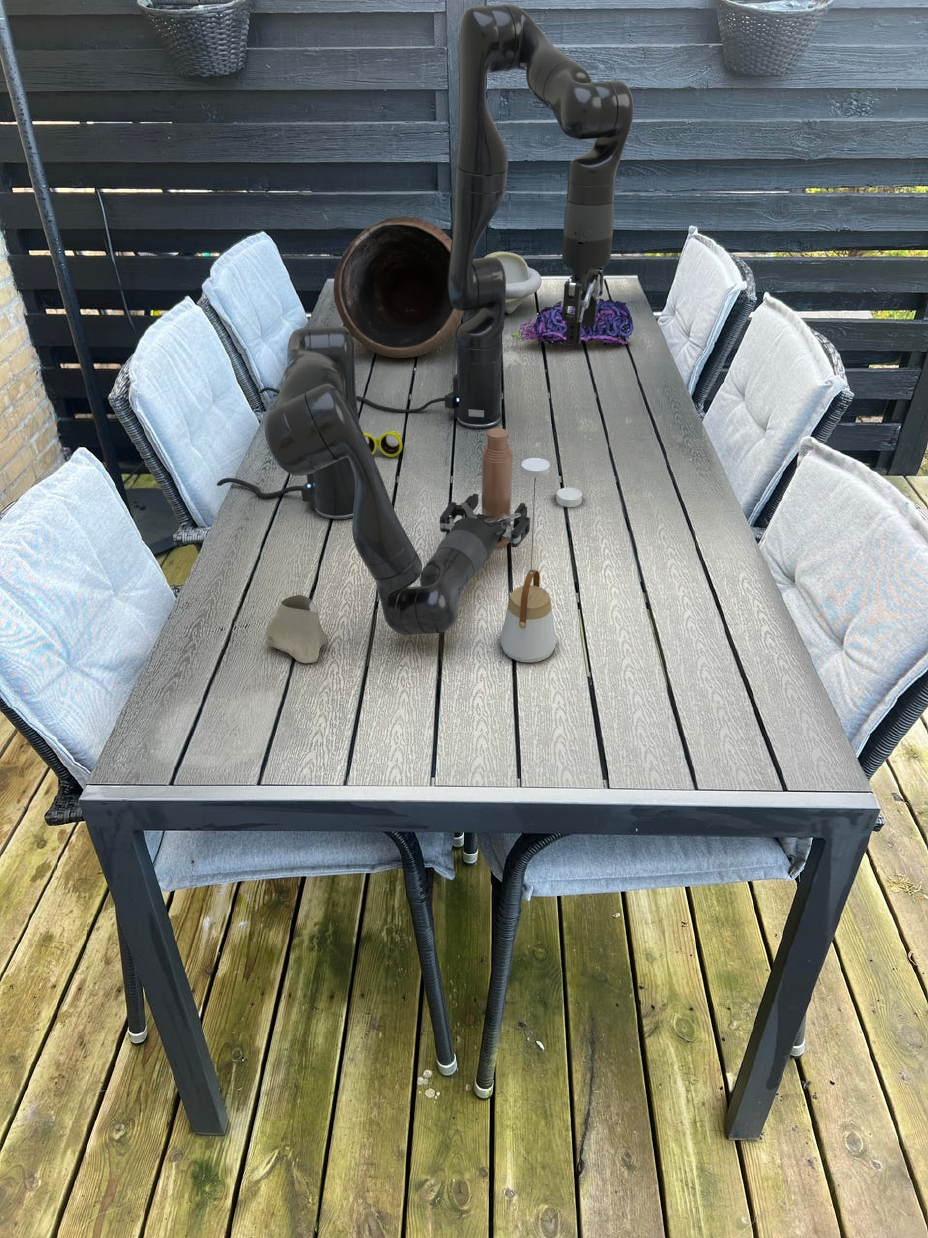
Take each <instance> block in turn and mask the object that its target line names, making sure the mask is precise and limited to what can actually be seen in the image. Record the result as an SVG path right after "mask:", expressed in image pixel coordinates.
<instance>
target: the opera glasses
mask: <svg viewBox="0 0 928 1238" xmlns="http://www.w3.org/2000/svg"><path fill="white" fill-rule="evenodd" d="M362 432H363V431H362ZM363 434H364V436H365V437H367V439H368V442H367V443H368V446H369V448H370V451H371V453H372V455H375V453H376V452H377V450H378V449H379V451H380V452H381V453H382V455H384V456H386V457H389V458H394V457H397V456H399V455H400V453H401V452H402V451H403V450H402V449H403V442H402V436H401V434H400V433H399V432H397V431H395V430H389V431H387V432H384V433H382V434H381V435H380V436H379V438H375V436H373V435H372V434H370V433H366V432H363ZM388 436H392V437H394V438H395V439H396V440H397V442H398V443H397V444H395V445H391V444H389V443H388V439H387V437H388ZM377 448H378V449H377Z"/></svg>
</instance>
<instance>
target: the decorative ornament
mask: <svg viewBox="0 0 928 1238" xmlns="http://www.w3.org/2000/svg"><path fill="white" fill-rule="evenodd" d="M562 304H563V301H562V300H560V301H558V302H556V303H555V304H554V305H553V306H545V307H544V308H542V309H541V310H540V311H539V312H538V317H536V319H535V321H534V322H532V317H529V318H528V321H526V322H524V323H523V324H520V326H519V329H517V330H516V331H514V332H512V333H511V334H510V335H511V337H512V339H513V340H516V341H518V340H519V341H521V342H523V341H526V342H525V344H526V343H528V341H530V343H531V342H533V341H536V342H538V344H537V346H538V347H540V345H542V343H547V344H548V345H550V346H560V344H562V345H564V346H565V345H568V344H567V343H566V332H567V321H562V312H563V306H562ZM596 304H597V303H596ZM561 306H562V307H561ZM571 314H575V308H573V309H572V312H571ZM633 331H634V323H633V317H632V316H631V313H630V310H629V308H628V307H627V302H623V301H618V300H611V299H607V300H604V299H603V298H599V302H598V304H597V311H596V323H595V325H594V327H586V326H583V325H582V326H581V340H580V342H587V343H589V342H593V341H595V342H596V341H602V342H603V345H604V346H611V345H621V346H625V345H629V341H628V340H630V336H632V334H633ZM527 340H528V341H527ZM575 346H576V347H578V345H575Z"/></svg>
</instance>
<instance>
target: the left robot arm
mask: <svg viewBox="0 0 928 1238" xmlns="http://www.w3.org/2000/svg"><path fill="white" fill-rule="evenodd" d="M286 350H287V351H286V367H285V371H284V373H283V375H282V379H281V383H280V389H279V391H280V392H279V394H278V395H277V398H276V400H275V401H274V403H273V404H272V405H271V407H269V410H268V411H267V412H266V413H265V418H264V427H263V428H264V438H265V441H266V444H267V447H268V450H269V452H270V454H271V457H272V458H273V460H274V462H275V463H276V464H277V465H278V467H279V468H280V469H282V470H283V471H284V472H285V473H287V474H289V475H291V476H295V477H303V476H306V482H305V483H304V484H303V485H293V486H288V487H285V488H283V489H280V490H277V491H272V492H262V491H261V490H260V488H259V487H258V486H256V485H254V484H252V483H250V482H249V481H246V480H242V479H239V478H235V477H225V478H222V479H220V480H219V481H217V483H216V486H217V487H221V486H223V485H224V484H228V483H229V484H230V483H232V484H237V485H240V486H243V487H245V488H247V489H249V490H251V491H254V492H255V494H256V495H257V497H259V498H262V499H272V498H275V497H280V496H283V495H286V494H288V493H290V492H301V500H302V502H306V503H309V505H310V510H311V511H314V512H316V514H318V515H319V516H320V517H322V518H325V519H329V520H346V519H351V518H352V523H351V524H352V525H351V532H352V539H353V543H354V547H355V549H356V551H357V553H358V555H359V557H360V559H361V560H362V562H363V563H364V565H365V567H366V569H367V570H368V572H369V573H370V575H371V577H372V579H373V580H374V582H375V585H376V591H377V593H378V598H379V602H380V605H381V609H382V614H383V618H384V620H385V622H386V625H388V627H389V628H390V629H391V630H392V631H393V632H395V633H396V634H399V635H401V636H416V635H417V636H418V635H435V634H436V635H437V634H441V633H444V632H447V631H448V630H449V629H451V628H452V627H453V626H454V625H455V624H456V622H457V620H458V617H459V611H460V606H461V602H462V598H463V595H464V591H465V590H466V588H468V585H469V584H470V583H471V581H472V580H473V579H474V578H475V577H476V576H477V575H478V574H479V573H480V571H481V569H483V568H484V566H485V564H486V562H487V561H488V560H489V558H490V556H492V554H493V552H494V551H495V549H496V548H497V547H496V545H497V544H498V543H500V542H502V541H503V540H504V541H508V542H509V543H510V547H511V548H518V547H519V546H520V545H521V543H522V542H523V541H524V539H526V537H527V536H528V534H529V533H531V531H530V529H531V518H530V517H529V516H528V506H526V503H524V502H520V503H519V505H518V506H517V508H516V509H515V510H514V513H511V515H508V516H507V515H506V514H503V515H500V516H497V517H493V516H485V515H483V514H482V513H477V514H476V513H475V512H474V511H475V509H476V508H477V507H478V505H479V494H478V493H473V494H472V495H469V496H468V497H467V498H466V499H465V500H464V501H463V502H461V503H460V504H457V502H455V501H451V502H449V503H448V505H447V506H446V508H445V509H444V511H443V512H442V514H441V515H440V517H439V531H440V532H441V533H447V534H446V535H445V537H444V538H443V539H442V540H441V542H440V543H439V544H438V545H437V548H436V549H435V552H434V553H433V555H432V556H431V557H430V558H429V560H428V561H427V562H426V564H425V565H424V566H423V564H422V561H421V558H420V556H419V554H418V552H417V551H416V549H415V547H414V545H413V543H412V541H411V539H410V538H409V536H408V534H407V531H405V529H404V527H403V525H402V523H401V521H400V519H399V517H398V515H397V512H396V511H395V508H394V506H393V504H392V501H391V499H390V496H389V493H388V491H387V487H386V485H385V483H384V479H383V477H382V475H381V472H380V470H379V468H378V465H377V463H376V460H375V458H374V456H373V455H374V454H373V455H372V453H371V451H370V448H369V446H368V443H369V442H368V441H367V439H366V436H364V434H363V430H362V427H361V425H360V419H359V418H360V417H359V409H358V408H359V407H358V401H357V400H358V399H356V396H357V385H356V383H357V382H356V354H355V352H356V351H355V343H354V338H353V337H352V334H351V332H350V331H349V329H348V328H347V327H345V325H344V326H343V325H334V326H333V325H331V326H330V325H329V326H311V327H301V328H297V329H295V330H293V332H292V333H291V334H290V335H289V338H288V342H287V349H286ZM458 516H459V517H460V518H459V519H457V520H456V518H457V517H458ZM455 520H456V521H455ZM500 522H502V526H501V524H500ZM510 522H511V525H510ZM512 522H513V523H512ZM448 530H449V531H448ZM418 579H419V584H420V585H416V586H411V585H413V584H414V583H415V582H416V581H417V580H418Z"/></svg>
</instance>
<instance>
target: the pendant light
mask: <svg viewBox="0 0 928 1238" xmlns="http://www.w3.org/2000/svg"><path fill="white" fill-rule="evenodd" d="M550 467H551V464H550V462H549V461H548V460H547V459H545V458H540V457H529V458H526V459H524V460H523V461H522V462H521V467H520V468H521V469H520V470H521V473H522V474H523V475H524V476H527V477H530V478H534V480H533V481H534V483H533V504H532V505H533V507H532V529H531V555H530V558H531V559H530V569H529V570H528V572H527V573H526V576H525V579H524V582H523V585H521V586H519V587H516V588H515V589H513V591H511V594H510V596H509V600H508V602H507V607H506V612H505V617H504V620H503V625H502V631H501V635H500V639H499V640H500V645H501V648H502V651H503V652H504V654H505V655H506V656H507V657H508V658H510V659H512V660H514V661H517V662H521V663H537V662H541V661H543V660H546V659H547V658H549V657H550V656H551V655H552V654H553V652H554V651H555V648H556V645H557V637H556V629H555V623H554V622H555V621H554V614H553V608H552V601H551V598H550V594H549V592H548V591H547V590H546V589H545V588H543V587H540V586H541V585H540V584H541V583H540V582H541V578H540V577H541V575H540V572H539V570H537V569H533V550H534V549H533V548H534V527H535V526H534V525H535V507H536V506H535V504H536V503H535V502H536V483H537V481H536V480H537V478H542V477H545V476H547V475H549V474H550Z"/></svg>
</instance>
